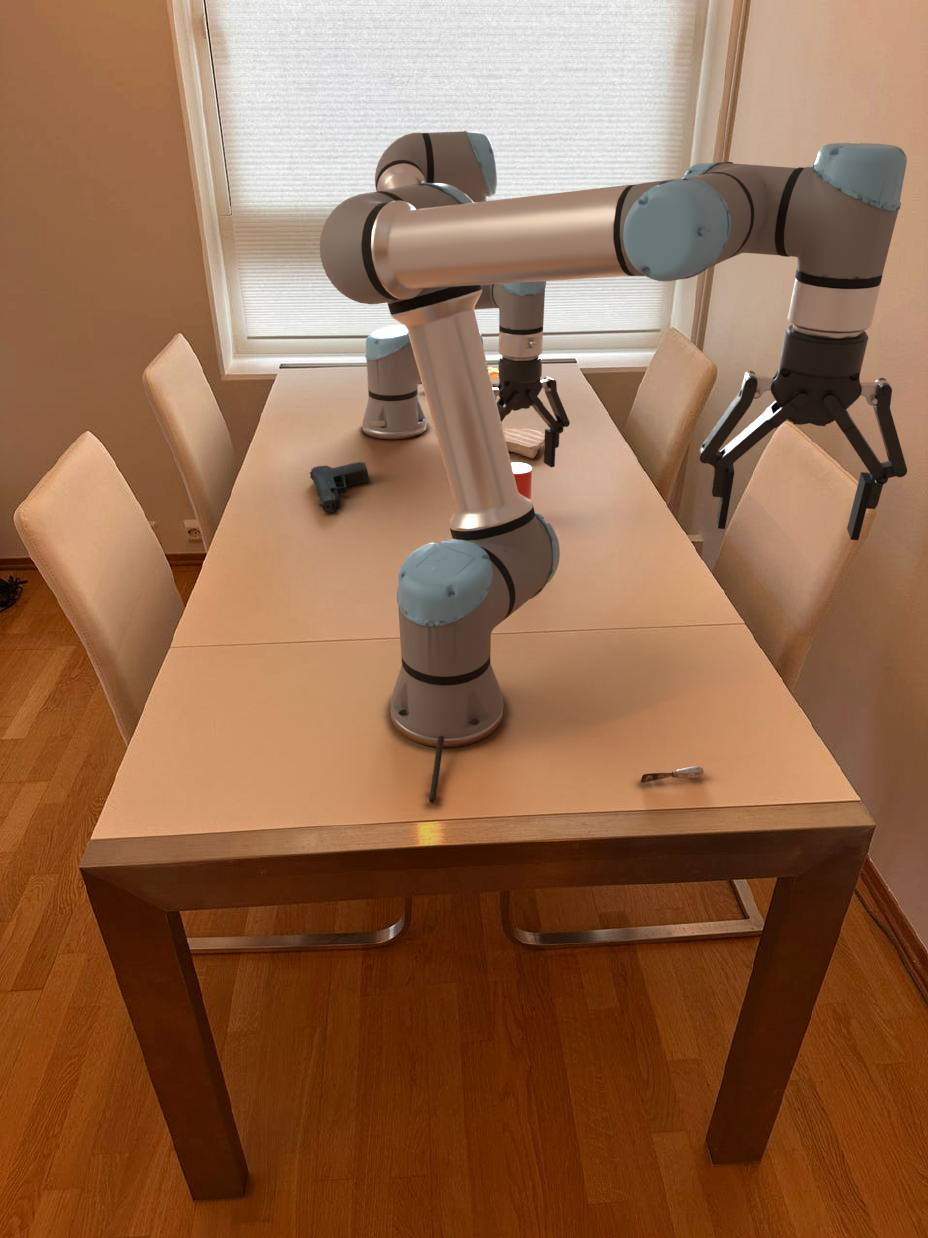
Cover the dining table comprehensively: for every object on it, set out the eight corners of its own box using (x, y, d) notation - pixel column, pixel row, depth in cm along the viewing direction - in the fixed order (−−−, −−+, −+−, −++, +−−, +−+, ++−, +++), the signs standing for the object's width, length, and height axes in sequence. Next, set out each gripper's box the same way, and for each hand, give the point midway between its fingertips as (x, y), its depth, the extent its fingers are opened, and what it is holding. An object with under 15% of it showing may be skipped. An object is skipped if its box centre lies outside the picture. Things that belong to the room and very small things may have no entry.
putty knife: (703, 777, 109) (705, 767, 109) (642, 788, 108) (644, 777, 107) (700, 772, 110) (702, 762, 109) (639, 782, 109) (640, 771, 108)
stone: (551, 440, 207) (551, 430, 205) (534, 459, 197) (534, 448, 196) (499, 434, 211) (499, 423, 210) (480, 451, 202) (480, 440, 200)
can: (535, 525, 170) (538, 469, 164) (512, 532, 167) (513, 475, 161) (518, 515, 174) (520, 459, 168) (495, 521, 171) (496, 466, 165)
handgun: (380, 507, 177) (320, 515, 174) (365, 473, 191) (308, 479, 188) (379, 493, 175) (318, 500, 172) (364, 459, 189) (307, 465, 186)
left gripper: (465, 370, 146) (466, 490, 157) (593, 350, 155) (585, 465, 166) (445, 359, 151) (447, 476, 163) (569, 341, 161) (563, 453, 172)
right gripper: (958, 324, 86) (902, 523, 97) (693, 312, 90) (668, 504, 101) (980, 344, 79) (917, 555, 91) (693, 331, 84) (667, 534, 95)
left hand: (517, 471), depth 164 cm, fingers open, 13 cm apart
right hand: (785, 529), depth 96 cm, fingers open, 13 cm apart
